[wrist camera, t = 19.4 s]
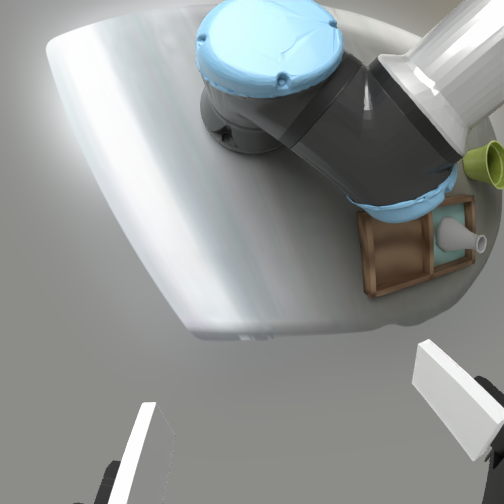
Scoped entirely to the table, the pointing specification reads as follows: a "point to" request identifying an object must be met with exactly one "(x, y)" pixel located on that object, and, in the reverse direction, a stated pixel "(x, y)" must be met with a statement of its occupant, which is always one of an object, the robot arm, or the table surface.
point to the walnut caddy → (411, 248)
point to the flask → (458, 237)
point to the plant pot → (486, 164)
